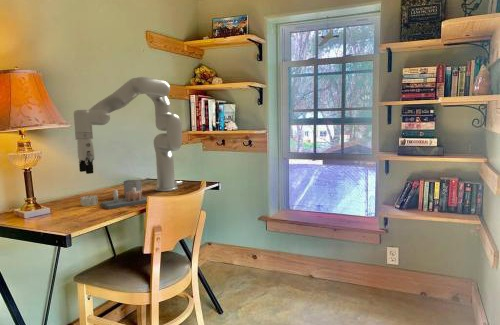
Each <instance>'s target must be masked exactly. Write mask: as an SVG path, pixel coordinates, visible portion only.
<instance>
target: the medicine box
mask: <svg viewBox="0 0 500 325" xmlns="http://www.w3.org/2000/svg"><path fill="white" fill-rule="evenodd" d="M132 188H136V191H142V192H143V187H142V180H140V179H139V180H138V179H126V180H124V181H123V190H124V191H123V193H124V198H126V192H129V191H132Z"/></svg>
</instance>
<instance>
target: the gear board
mask: <svg viewBox="0 0 500 325" xmlns="http://www.w3.org/2000/svg"><path fill="white" fill-rule="evenodd" d="M112 194H113V199H112V200H105V201H100V202H99V204H100V206H101V207H104V208H105V209H107V210H114V209H119V208H124V207H125V208H126V207H130V206H135V205H143V204H147V203H146V200H147V198H148V197H145V196H143V190H142V191H136V188H132V191H129V192H126V197H124V198H119V191H118V189H115V190H112Z"/></svg>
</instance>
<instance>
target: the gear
mask: <svg viewBox="0 0 500 325" xmlns="http://www.w3.org/2000/svg"><path fill="white" fill-rule="evenodd" d="M98 198H99V197H98V196H97V195H87V196H86V195H84V196H81V197H80V205H81V206H82V207H90V206H95V205H97V204H99V200H98Z"/></svg>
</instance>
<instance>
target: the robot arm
mask: <svg viewBox="0 0 500 325" xmlns="http://www.w3.org/2000/svg"><path fill="white" fill-rule="evenodd" d="M170 92H171V86H170V84H169V83H168V82H167V81H165V80H163V79H157V78H153V77H147V76H139V77H133V78H130V79H128V80H127V81H126V82H125V83H124V84H123V85H121V86H120V87H119V88H118V89H116V90H115V91H114V92H113V93H111V94H109V95H108V96H106V97H104V98H103V99H101V100H99V101H98V102H97V103H96V104H94V105H93V106H91V107H90V108H89V109H76V110H74V111H73V122H74V136H75V137H74V138H75V141H76V142H77V144H76V145H77V158H78V166H79V172H80V173H82V172H84V173H85V174H86V175H87V174H88V175H89V174H91V175H92V174H94V161H95V160H96V159H95V150H94V144H93V139H94V137H93V134H94V133H93V126H104V125H106V124H108V123H109V122H110V120H111V115H110V113H113V112H115V111H119V110H120V109H123V108H125V107H126V106H128V105H129V104H130V103H131V102H132V101H133V100H134V99H136V98H137V97H138V96H139V95H144V94H145V95H146V96H147V97H148V98H149V99H151V101H152V102H153V106H154V115H155V116H154V117H155V118H154V120H155V122H154V123H155V127H156V129H157V130H158V131H161V132H166V133H158V134H157V135H156V136H154V139H153V148H154V152H155V160H156V161H155V164H156V179H157V180H156V181H157V182H156V183H157V186H156V187H154V190H155V191H156V192H171V191H175V190H178V189H179V187H178V185H182V184H183V181H182V180H179V181H178V180H176V179H175V161H174V160H175V158H174V154H173V152H177V151H178V150H180V148H182V144H183V131H182V129H183V128H182V124H183V123H182V121H181V120H182V119H181V118H180V116H179V115H178V114H176V113H172V107H171V101H170V99H169V98H168V95H169V94H170Z"/></svg>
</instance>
